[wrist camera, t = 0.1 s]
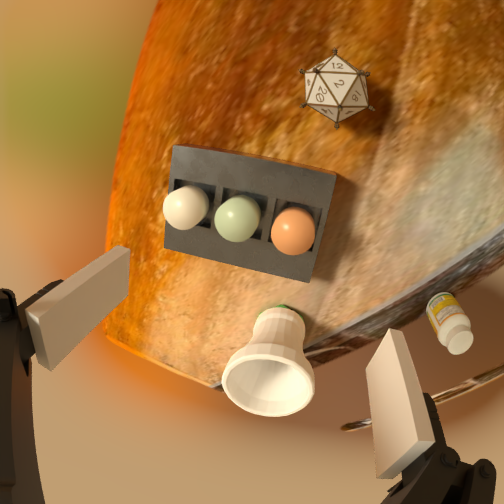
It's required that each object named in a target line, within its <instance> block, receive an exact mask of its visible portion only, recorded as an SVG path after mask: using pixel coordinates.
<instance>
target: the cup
mask: <svg viewBox="0 0 504 504" xmlns="http://www.w3.org/2000/svg"><path fill="white" fill-rule="evenodd" d="M304 338H305V325H304V320H303V318H302V316H301V315H299V314H297V313H296V312H295V311H292V310H290V309H289V308H287V307H286V306H284V305H279V306H276V307H273V308H270V309H267V310H265V311H263V312H261V313H260V314H259V316H258V318H257V320H256V323H255V326H254V330H253V336H252V339H251V340H250V341H249V343H248V344H247V345H246V346H245V347H243V348H241V349H239V350H238V351H237V352H236V353H235V354H233V355H232V356H231V358H230V360H229V362H228V364H227V366H226V368H225V371H224V373H223V376H222V385H223V388H224V391H225V392H226V394H227V395H228V397H229V398H230V399H231V400H232V401H233V402H234V403H235V404H236V405H238V406H239V407H241V408H243V409H244V410H246V411H249V412H252V413H254V414H258V415H263V416H275V417H277V416H287V415H290V414H293V413H295V412H297V411H299V410H301V409H303V408H304V407H305V406H306V405H307V404H308V403H309V402H310V401H311V399H312V397H313V395H314V391H315V389H314V388H315V379H314V372H313V369H312V367H311V364H310V363H309V362H308V360H307V359H306V358H305V356H304V353H303V340H304Z"/></svg>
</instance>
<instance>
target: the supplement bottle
mask: <svg viewBox="0 0 504 504" xmlns="http://www.w3.org/2000/svg"><path fill="white" fill-rule="evenodd" d="M426 313H427V316H428V318H429V320H430V322H431V325H432V326H433V329H434V331H435V333H436V335H437V337H438V340H439V341H440V343H441V344H442V345H444V346H446V347H447V348H448V350H449V351H450V353H452V354H455V355H456V354H461V353H463V352H465V351H466V350H468V349H469V347H470V346H471V345H472V342H473V334H472V332H471V330H470V329H471V323H470V320H469V318H468V317H467V315H466V314H465V312H464V311H463V309H462V308H461V306H460V305H459V303H458V302H457V300H456V299H455V298H454V296H453V295H452V294H450V293H447V292H441V293H439V294H437V295H435V296H434V297H432V298H431V300H430V301H429V303H428V305H427V309H426Z"/></svg>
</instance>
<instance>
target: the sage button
mask: <svg viewBox="0 0 504 504" xmlns="http://www.w3.org/2000/svg"><path fill="white" fill-rule="evenodd" d="M260 221H261V210H260V207H259V205H258V204H257V202H256V201H255V200H253V199H252V198H250V197H248V196H245V195H236V196H233V197H231V198H230V199H228V200H227V201H226V202H225V203H223V204H222V205H221V206H220V207H219V208H218V210H217V211H216V214H215V226H216V229H217V231H218V232H219V234H220V235H221V236H222V237H223V238H225V239H226V240H229V241H232V242H242V241H245V240H247V239H249V238H250V237H251V236H252V235H253V233H254V232H255V230H256V228H257V227H258V225H259V223H260Z"/></svg>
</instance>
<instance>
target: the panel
mask: <svg viewBox="0 0 504 504" xmlns="http://www.w3.org/2000/svg"><path fill="white" fill-rule="evenodd" d="M336 177H337V175H336V173H335V172H334V171H329V170H325V169H321V168H317V167H313V166H308V165H304V164H299V163H295V162H290V161H285V160H280V159H275V158H270V157H265V156H260V155H255V154H249V153H244V152H238V151H232V150H226V149H220V148H213V147H207V146H200V145H193V144H178V145H173V152H172V161H171V169H170V179H169V189H168V195H169V194H170V193H171V192H173V191H175V190H177V189H180V188H182V187H184V186H187V185H194V186H197V187H199V188H201V189H202V190H203V191H204V192H205V193H206V195H207V196H208V199H209V204H210V206H209V211H208V214H207V215H206V217H205V218H204V219H202V220H201V221H200V222H199V223H198V224H196V225H195V226H194V227H192V228H190V229H188V230H179V229H176V228H174V227H173V226H171V225H170V224H169V223H168V221H167V220H166V224H165V238H164V248H166V249H170V250H174V251H178V252H182V253H186V254H190V255H194V256H198V257H202V258H206V259H210V260H214V261H218V262H222V263H227V264H231V265H235V266H239V267H243V268H247V269H251V270H255V271H260V272H264V273H268V274H272V275H276V276H281V277H285V278H289V279H293V280H298V281H302V282H306V283H309V282H310V279H311V275H312V272H313V268H314V265H315V261H316V257H317V254H318V250H319V246H320V242H321V239H322V235H323V231H324V227H325V223H326V219H327V215H328V211H329V207H330V203H331V199H332V195H333V190H334V186H335V182H336ZM236 195H245V196H248V197H250V198H252V199H253V200H255V201H256V202H257V204H258V205H259V207H260V210H261V221H260V223H259V225H258V227H257V228H256V230H255V232H254V233H253V235H252V236H251V237H250V238H249V239H247V240H245V241H242V242H232V241H229V240H226V239H225V238H223V237H222V236H221V235H220V234H219V232H218V231H217V229H216V226H215V214H216V211H217V210H218V208H219V207H220V206H221V205H222V204H223V203H225V202H226V201H227V200H228V199H230V198H231V197H233V196H236ZM288 207H300V208H303V209H305V210H306V211H308V212H309V213H310V214H311V216H312V218H313V220H314V223H315V238H314V242H313V244H312V246H311V247H310V248H309V249H308V250H307V251H306V252H304V253H302V254H299V255H288V254H285V253H283V252H281V251H279V250H278V249H277V248H276V247H275V245H274V244H273V241H272V238H271V229H272V226H273V224H274V222H275V219H276V217H277V216H278V214H279V213H280V212H281V211H282V210H284V209H286V208H288Z"/></svg>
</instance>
